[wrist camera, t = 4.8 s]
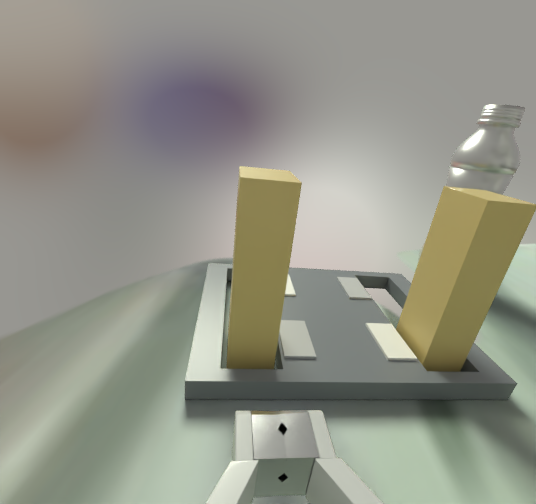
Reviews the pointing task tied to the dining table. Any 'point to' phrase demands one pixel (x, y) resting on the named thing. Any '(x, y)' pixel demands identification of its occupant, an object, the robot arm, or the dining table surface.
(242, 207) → the yellow bar
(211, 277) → the switch bank
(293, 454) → the robot arm
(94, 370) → the dining table surface
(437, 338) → the yellow rectangular block
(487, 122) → the plastic bottle
